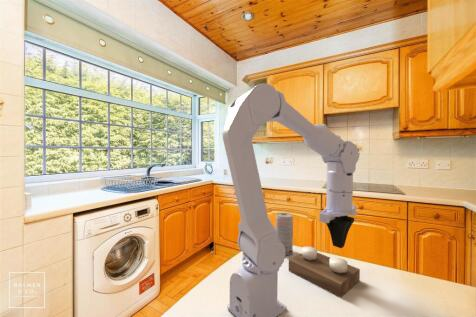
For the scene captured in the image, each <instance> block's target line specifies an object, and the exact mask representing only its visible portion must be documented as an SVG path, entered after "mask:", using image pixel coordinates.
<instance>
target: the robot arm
mask: <svg viewBox="0 0 476 317" xmlns="http://www.w3.org/2000/svg"><path fill="white" fill-rule="evenodd" d="M286 100H287V99H286V98H285V95H284V93H283V92H281V91H279V90H277V89H276V88H275V86H273V85H271V84H269V83H266V82H265V83H262V82H261V83H258V84H257V85H255V86H254V87H253V88H251V89H250V90H248V91H247V92H245V93H243V94H242V95H239V96H238V97H237V96H236V98H235V99H234V100H233V101H232V103H230V105H229V106H228V108H227V111H228V114H227V118H226V121H225V123H224V127H223V130H222V141H223V145H224V149H225V154H226V158H227V162H228V163H227V164H228V167H229V172H230V176H231V179H232V184H233V190H234V194H235V199H236V203H237V208H238V210H239V215H240V220H241V221H239V222H238V224H237V227H238V236H237V246H238V248H239V250H240V251H241V252H242V260H241V265H240V267H239V268H238V269H237V270H236V271H234V272H233V273H232V274H231V276H230V279H229V304H227V305H226V306H227V307H226V308H227V310H229V311H230V312H231V313H232V314H233V315H234V316H235V317H277V316H279V315H280V314H282V313H283V312H285V311H286V310H287V309H288V308H287V305H285V303H283V302H281V301H280V300H278V289H279V288H278V284H279V283H278V278H279V277H278V275H279V274H278V272H279V271H280V268H281V267H282V265H283V264H284V262H285V259H286V255H285V254H286V252H285V247H284V245H283V243H282V242H281V241H280V240H279V238H278V234H277V231H276V226H274V224H273V223H272V221H271V220H270V218H269V215H268V210H267V207H266V202H265V198H264V191H263V189H262V188H263V187H262V183H261V179H260V178H261V177H260V173H259V169H258V163H257V159H256V155H255V150H254V145H253V144H254V143H253V138H254V136H255V135H256V134H257V132H258V131H259V129H260V128H261V127H262V126H263V125H264V124H265V123H269V122H271V123H272V122H276V123H278V124H280V125H282V126H284V127H285V128H287V129H289V131H290V130H291V131H293V132H294V133H295V134H297V135H299V136H300V137H303V143H304V145H305V146H306V147H308V148H310V149H311V150H313V151H314V152H315V153H317V154H318V155H320V156H321V159H322V161H323V162H324V163H325V164H326V206H325V208H324V209H323V210H322V211H321V212H319V214H318V215H319V218H318V220H319V222H322V223H324V224H326V227H327V228H328V230H329V234H330V239H331V243H332V246H333V247H335V248H339V249H343V248H344V247H345V244H346V239H347V236H348V234H349V231H350V229H351V227H352V226H353V224H354V222H355V218H354V217H352V216H357V215H358V211H357V205H355V204H353V195H354V194H353V190H354V173H355V172H356V168H357V167H356V166H357V163H358V161H359V159H360V152H359V149H358V146H357V145H356V144H355V143H353V142H352V141H349V140H345V141H344V139H343V138H341V136H340V135H338V134H336V133H334V132H333V131H331V129H329V125H327V124H325V123H323V124H321V123H316V124H315V123H314V124H313V123H312V122H311V121H310V120H308V118H307V117H305V116H303V114H301V113H300V112H299V111H298V110H296V108H294V107H293V106H292V105H291V104H290V103H289V102H288V101H286Z"/></svg>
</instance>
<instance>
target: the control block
mask: <svg viewBox="0 0 476 317" xmlns="http://www.w3.org/2000/svg"><path fill="white" fill-rule="evenodd" d="M330 258H331V257H330V256H328V255H325V254H323V253H319V252H317V258H316V259H314V260H312V261H309V260H307V259H305V258H303V257H302V252H301V253H300V254H298V255H296V256H294V257H292V258H289V259H288V271H289V272H290V273H293V274H294V275H296V276H298V277H300V278H302V279H304V280H306V281H308V282H309V283H312V284H313V285H315V286H317V287H319V288H321V289H323V290H324V291H327V292H328V293H331V294H333V295H335V297H338V298H339V299H341V298H343V296H344V295H346V294H347V293H348V292H349V291H350V290H351V289H352V288H354V287H355V286H356V285H357V284H359V282H360V281H361V280H360V275H361V273H360V270H361V269H360V268H358V267H355V266H353V265H350V264H348V263H347V272H345V273H342V274H339V273H336V272H334V271H333V270H331V269H330V268H329V259H330Z"/></svg>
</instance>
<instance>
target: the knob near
mask: <svg viewBox="0 0 476 317" xmlns="http://www.w3.org/2000/svg"><path fill="white" fill-rule="evenodd" d="M347 264H348V260H346V259H345V258H341V257H337V256H332V257H330V259H329V268H330V269H331V270H333V271H334V272H336V273H339V274H342V273H345V272H347Z"/></svg>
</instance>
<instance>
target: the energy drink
mask: <svg viewBox="0 0 476 317" xmlns="http://www.w3.org/2000/svg"><path fill="white" fill-rule="evenodd" d="M293 228H294V217H293V214H291V213H289V212H277V213H276V216H275V229H276V231H277V234H278V238H279V240H280V241H281V242H282V243H283V245H284V247H285V252H286V254H285V256H291V255H292V253H293V247H294V244H293V239H294V238H293V234H294V229H293Z"/></svg>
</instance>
